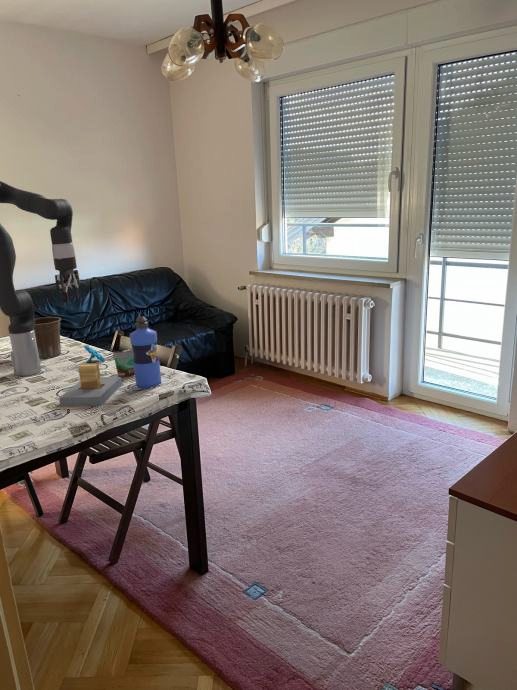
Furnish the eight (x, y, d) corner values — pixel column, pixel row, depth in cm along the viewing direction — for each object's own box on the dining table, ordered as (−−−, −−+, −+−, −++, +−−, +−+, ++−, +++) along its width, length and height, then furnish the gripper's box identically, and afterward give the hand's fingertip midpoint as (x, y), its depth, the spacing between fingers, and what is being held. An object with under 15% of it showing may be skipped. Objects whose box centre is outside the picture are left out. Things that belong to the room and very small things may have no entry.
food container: (127, 380, 195) (123, 354, 193) (115, 378, 199) (112, 352, 196) (150, 370, 205) (147, 346, 203) (138, 368, 209) (135, 344, 206)
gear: (105, 360, 217) (85, 345, 214) (96, 371, 216) (76, 357, 214) (107, 357, 227) (88, 342, 225) (98, 367, 227) (79, 353, 225)
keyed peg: (99, 396, 180) (95, 365, 177) (82, 396, 181) (78, 366, 178) (102, 393, 183) (98, 363, 180) (86, 393, 183) (81, 363, 181)
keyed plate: (60, 406, 173) (58, 397, 172) (85, 385, 192) (84, 377, 191) (101, 405, 171) (99, 396, 171) (122, 384, 191) (121, 376, 190)
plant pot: (52, 348, 247) (47, 315, 243) (73, 352, 238) (68, 318, 234) (20, 358, 234) (14, 322, 230) (41, 362, 225) (35, 326, 221)
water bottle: (130, 387, 187) (121, 319, 180) (145, 379, 195) (137, 313, 189) (152, 389, 184) (144, 319, 177) (166, 380, 192) (159, 314, 185)
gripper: (63, 254, 196) (69, 297, 201) (44, 258, 183) (52, 304, 187) (82, 253, 195) (88, 296, 200) (65, 257, 182) (72, 303, 186)
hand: (70, 300), depth 193 cm, fingers open, 8 cm apart
